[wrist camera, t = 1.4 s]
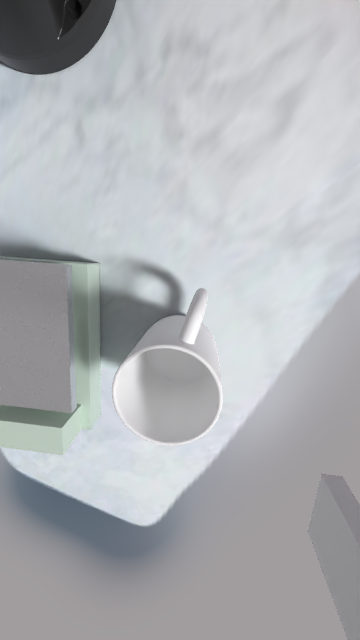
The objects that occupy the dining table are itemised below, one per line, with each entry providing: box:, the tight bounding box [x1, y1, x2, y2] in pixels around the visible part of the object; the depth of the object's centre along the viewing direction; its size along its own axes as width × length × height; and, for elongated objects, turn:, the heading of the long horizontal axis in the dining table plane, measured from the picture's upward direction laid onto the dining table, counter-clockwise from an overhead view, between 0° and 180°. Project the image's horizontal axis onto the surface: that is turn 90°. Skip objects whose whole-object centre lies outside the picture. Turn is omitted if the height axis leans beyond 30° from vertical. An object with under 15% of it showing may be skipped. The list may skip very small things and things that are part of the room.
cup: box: [112, 288, 223, 445], centre depth 24 cm, size 8×12×10 cm
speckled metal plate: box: [0, 259, 77, 413], centre depth 26 cm, size 14×10×3 cm
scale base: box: [0, 256, 101, 455], centre depth 27 cm, size 19×11×7 cm, turn 176°
